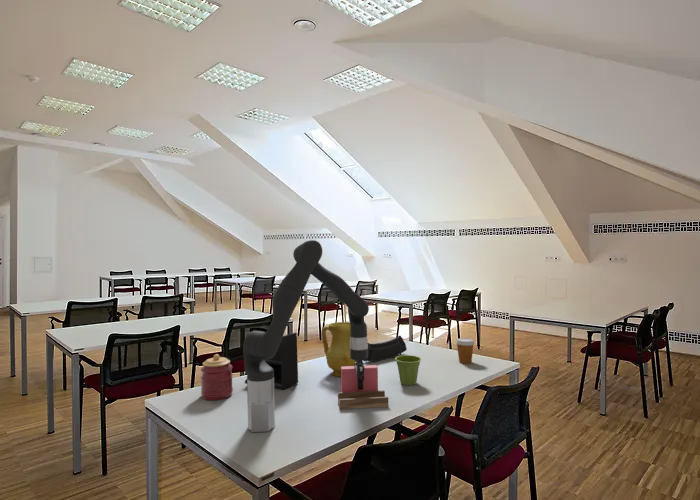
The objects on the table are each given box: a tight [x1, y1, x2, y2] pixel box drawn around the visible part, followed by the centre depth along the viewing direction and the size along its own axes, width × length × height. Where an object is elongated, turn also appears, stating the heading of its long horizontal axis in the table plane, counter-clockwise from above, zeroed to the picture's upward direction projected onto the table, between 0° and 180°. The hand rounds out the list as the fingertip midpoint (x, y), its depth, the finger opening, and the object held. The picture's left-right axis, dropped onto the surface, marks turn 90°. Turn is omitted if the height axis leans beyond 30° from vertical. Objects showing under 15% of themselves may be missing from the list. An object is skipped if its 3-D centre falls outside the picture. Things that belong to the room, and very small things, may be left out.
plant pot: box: [394, 354, 422, 386], centre depth 201 cm, size 12×12×11 cm
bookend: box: [244, 332, 299, 390], centre depth 204 cm, size 23×11×24 cm, turn 59°
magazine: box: [363, 335, 407, 363], centre depth 244 cm, size 17×3×30 cm
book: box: [340, 364, 379, 392], centre depth 185 cm, size 4×15×12 cm, turn 96°
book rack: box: [337, 389, 389, 410], centre depth 175 cm, size 9×19×4 cm, turn 96°
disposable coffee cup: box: [455, 337, 475, 365], centre depth 234 cm, size 10×10×12 cm
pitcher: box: [321, 321, 355, 378], centre depth 219 cm, size 17×19×25 cm
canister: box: [200, 353, 234, 401], centre depth 188 cm, size 13×13×18 cm
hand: (359, 386), depth 185 cm, fingers open, 5 cm apart
